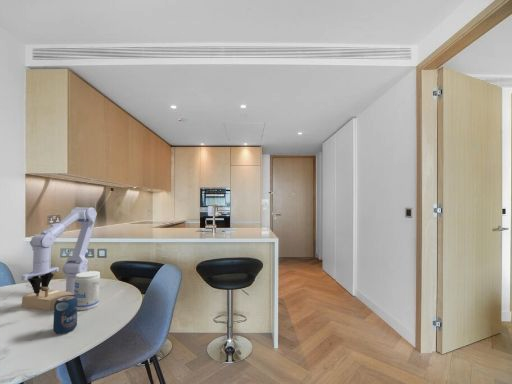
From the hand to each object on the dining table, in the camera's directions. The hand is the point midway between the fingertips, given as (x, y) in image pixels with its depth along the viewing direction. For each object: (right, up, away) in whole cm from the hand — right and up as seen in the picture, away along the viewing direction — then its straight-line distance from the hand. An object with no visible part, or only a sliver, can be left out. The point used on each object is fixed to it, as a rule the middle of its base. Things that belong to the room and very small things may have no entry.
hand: (40, 292), depth 114 cm
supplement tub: (+20, -7, +1) cm, 21 cm away
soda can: (+26, -6, -20) cm, 34 cm away
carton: (+1, -7, +3) cm, 7 cm away
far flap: (0, -2, +1) cm, 3 cm away
